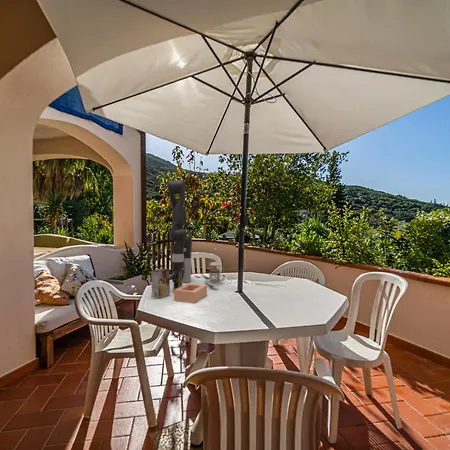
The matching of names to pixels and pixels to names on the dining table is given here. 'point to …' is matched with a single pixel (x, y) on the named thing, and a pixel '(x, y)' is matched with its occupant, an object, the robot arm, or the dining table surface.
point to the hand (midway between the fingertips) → (177, 287)
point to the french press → (215, 271)
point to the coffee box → (160, 283)
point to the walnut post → (179, 282)
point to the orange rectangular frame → (190, 293)
